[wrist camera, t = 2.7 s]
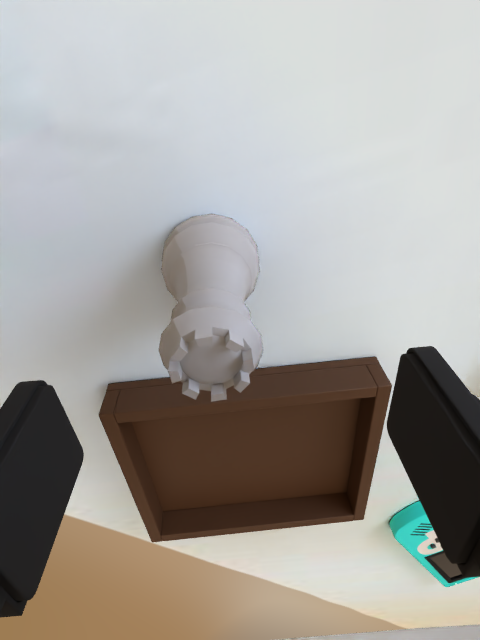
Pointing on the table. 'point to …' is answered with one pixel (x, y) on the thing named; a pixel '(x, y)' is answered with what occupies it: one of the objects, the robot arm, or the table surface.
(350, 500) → the tray
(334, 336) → the table surface
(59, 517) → the robot arm
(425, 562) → the handheld game console
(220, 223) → the rook chess piece
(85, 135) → the table surface
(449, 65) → the table surface
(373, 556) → the table surface
